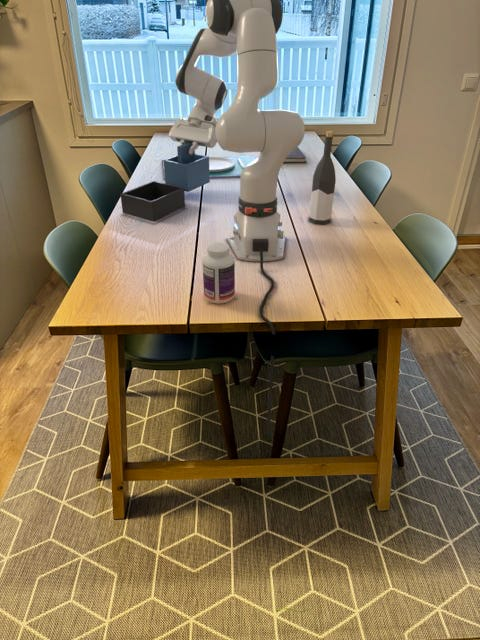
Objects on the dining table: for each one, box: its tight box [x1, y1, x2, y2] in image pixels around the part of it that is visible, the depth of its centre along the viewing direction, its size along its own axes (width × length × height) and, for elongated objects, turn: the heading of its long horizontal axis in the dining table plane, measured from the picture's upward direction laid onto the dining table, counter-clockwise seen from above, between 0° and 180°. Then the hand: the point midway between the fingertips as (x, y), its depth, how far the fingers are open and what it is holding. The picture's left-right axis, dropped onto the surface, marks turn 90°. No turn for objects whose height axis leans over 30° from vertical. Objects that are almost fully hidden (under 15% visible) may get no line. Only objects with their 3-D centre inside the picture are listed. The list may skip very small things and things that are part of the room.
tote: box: [119, 180, 186, 223], centre depth 170 cm, size 18×15×8 cm
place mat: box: [162, 155, 257, 179], centre depth 217 cm, size 45×30×2 cm
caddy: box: [162, 142, 211, 193], centre depth 179 cm, size 14×11×15 cm
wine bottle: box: [308, 130, 337, 225], centre depth 159 cm, size 8×8×30 cm
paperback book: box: [283, 146, 307, 164], centre depth 234 cm, size 16×23×2 cm
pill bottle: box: [201, 241, 236, 304], centre depth 119 cm, size 8×8×14 cm
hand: (185, 153), depth 176 cm, fingers closed on caddy
